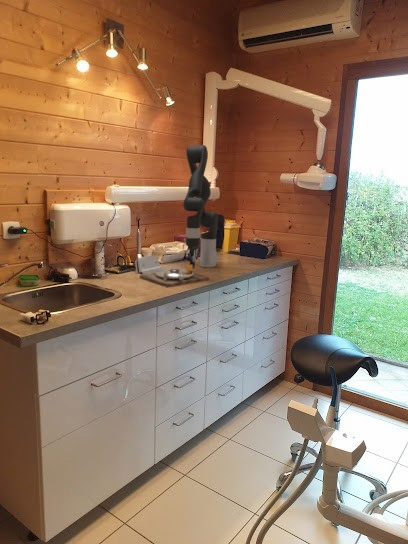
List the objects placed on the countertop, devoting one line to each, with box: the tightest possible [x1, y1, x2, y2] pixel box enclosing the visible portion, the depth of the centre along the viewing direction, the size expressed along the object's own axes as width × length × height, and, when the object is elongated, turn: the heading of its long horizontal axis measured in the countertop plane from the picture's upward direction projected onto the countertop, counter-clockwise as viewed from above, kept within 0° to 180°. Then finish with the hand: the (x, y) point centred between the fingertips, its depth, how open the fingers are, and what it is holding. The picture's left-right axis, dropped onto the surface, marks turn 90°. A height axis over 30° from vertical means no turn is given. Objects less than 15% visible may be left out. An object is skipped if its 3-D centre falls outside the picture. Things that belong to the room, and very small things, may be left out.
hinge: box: [134, 255, 163, 275], centre depth 240 cm, size 17×5×10 cm, turn 143°
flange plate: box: [155, 263, 194, 280], centre depth 222 cm, size 20×22×6 cm
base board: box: [139, 272, 210, 288], centre depth 224 cm, size 28×24×6 cm
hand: (192, 268), depth 224 cm, fingers closed
